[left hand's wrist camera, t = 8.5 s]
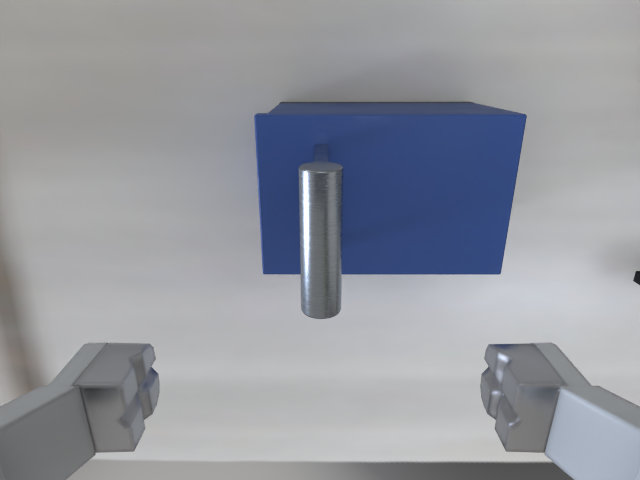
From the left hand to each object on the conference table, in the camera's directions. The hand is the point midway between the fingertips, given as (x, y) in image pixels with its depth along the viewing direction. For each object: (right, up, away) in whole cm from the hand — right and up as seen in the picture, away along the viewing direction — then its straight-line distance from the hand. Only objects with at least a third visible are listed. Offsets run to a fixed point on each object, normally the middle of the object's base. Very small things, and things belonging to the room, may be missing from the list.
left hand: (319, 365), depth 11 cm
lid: (+4, +6, +14) cm, 16 cm away
